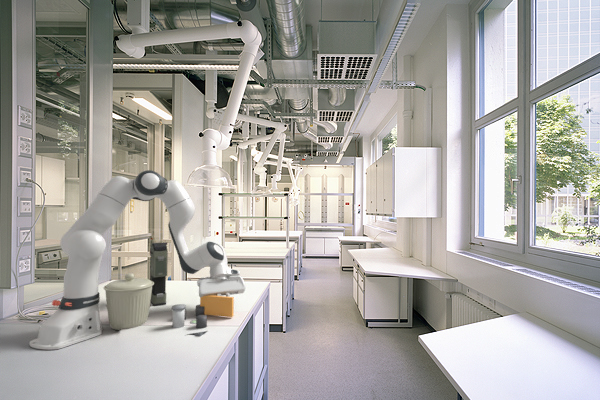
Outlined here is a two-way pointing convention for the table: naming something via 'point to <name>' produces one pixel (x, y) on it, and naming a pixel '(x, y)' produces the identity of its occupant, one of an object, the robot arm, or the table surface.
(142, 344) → the table surface
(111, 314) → the canister
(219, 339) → the table surface
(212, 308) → the tan wooden plank
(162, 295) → the device
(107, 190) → the robot arm
